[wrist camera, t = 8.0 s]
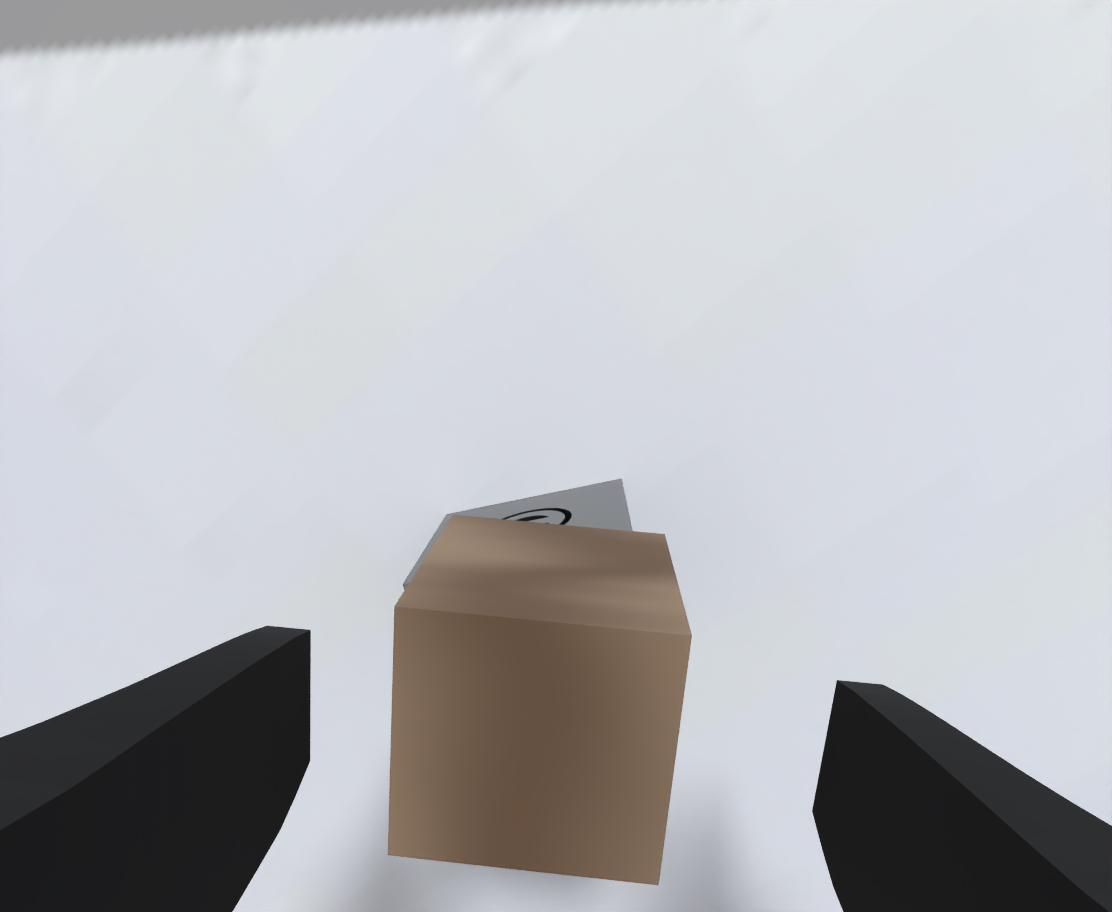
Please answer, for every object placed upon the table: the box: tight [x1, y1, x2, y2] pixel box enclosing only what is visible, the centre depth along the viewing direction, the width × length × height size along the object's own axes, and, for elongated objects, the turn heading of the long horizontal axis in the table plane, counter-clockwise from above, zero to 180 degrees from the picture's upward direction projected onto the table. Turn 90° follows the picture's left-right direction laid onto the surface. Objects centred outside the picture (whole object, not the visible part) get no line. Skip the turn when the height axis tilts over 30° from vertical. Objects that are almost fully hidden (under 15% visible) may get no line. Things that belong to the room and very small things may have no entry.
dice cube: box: [403, 479, 632, 590], centre depth 18 cm, size 5×5×5 cm
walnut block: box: [388, 515, 692, 885], centre depth 13 cm, size 4×4×4 cm
